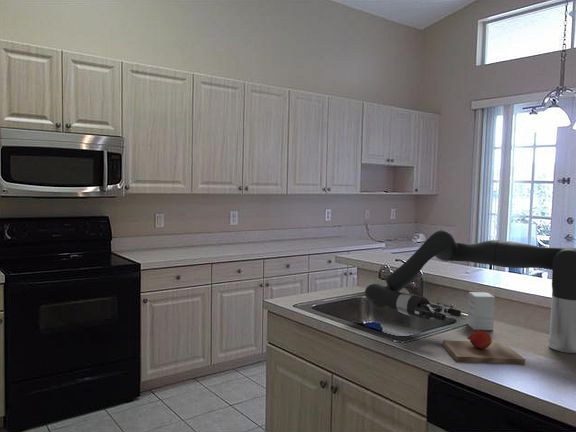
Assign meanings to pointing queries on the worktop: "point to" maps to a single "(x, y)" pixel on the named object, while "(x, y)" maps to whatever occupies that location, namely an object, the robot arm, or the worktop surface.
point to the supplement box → (481, 311)
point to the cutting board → (483, 353)
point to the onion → (480, 339)
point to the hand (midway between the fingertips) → (452, 315)
